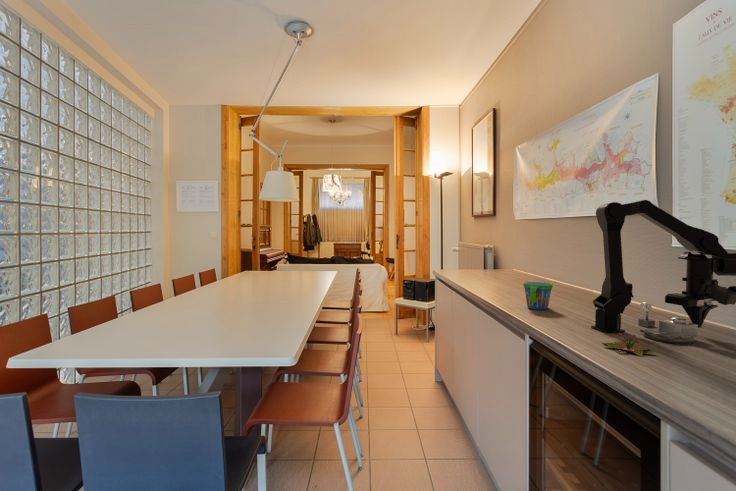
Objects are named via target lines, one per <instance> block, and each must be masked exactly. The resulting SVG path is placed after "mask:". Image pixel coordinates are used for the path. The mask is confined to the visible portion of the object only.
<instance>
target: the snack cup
mask: <svg viewBox="0 0 736 491" xmlns="http://www.w3.org/2000/svg"><path fill="white" fill-rule="evenodd" d="M553 287H554V286H553V283H550V282H543V281H542V282H541V281H525V282H523V288H524V293H525V300H526V306H527V308H529V309H532V310H540V311H544V310H547V309H548V308H549V304H550V299H551V295H552V294H551V293H552V290H553Z"/></svg>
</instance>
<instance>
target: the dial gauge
mask: <svg viewBox="0 0 736 491" xmlns="http://www.w3.org/2000/svg"><path fill="white" fill-rule="evenodd" d="M652 307H653V306H652V305H651V303H649V302H647V301H643V302H640V304H639V309H640V310H641V311H642V312H643V313H644V318H637V319H638V321H637V322H638V326H641V327H646V328H656V327H655V325H656V320H654V319H649V312H651V311H652Z"/></svg>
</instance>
